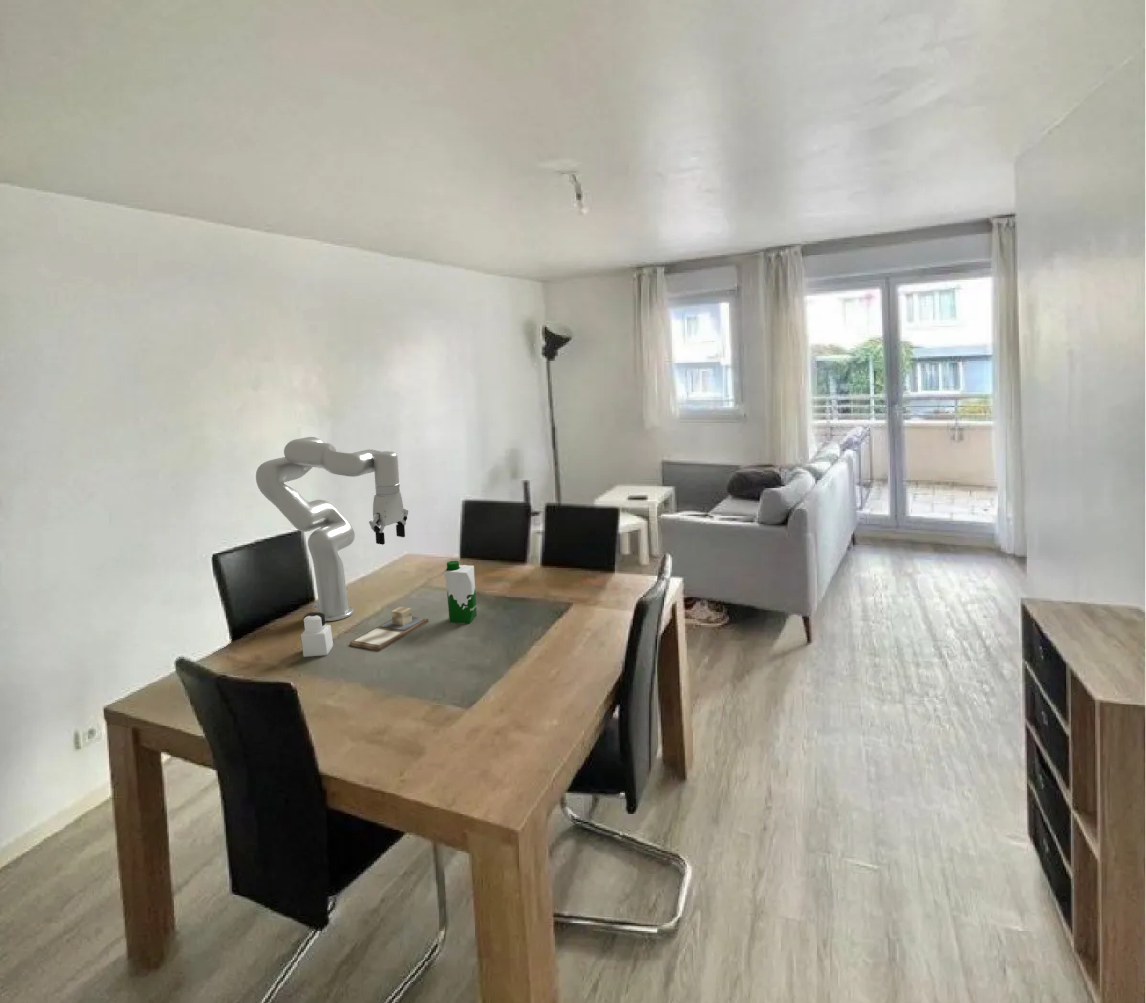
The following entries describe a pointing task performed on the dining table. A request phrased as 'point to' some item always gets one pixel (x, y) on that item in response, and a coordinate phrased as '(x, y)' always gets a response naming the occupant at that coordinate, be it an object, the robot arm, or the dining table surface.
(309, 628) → the medicine bottle
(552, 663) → the dining table surface
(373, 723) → the dining table surface
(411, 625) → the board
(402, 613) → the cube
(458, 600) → the fresh milk carton
